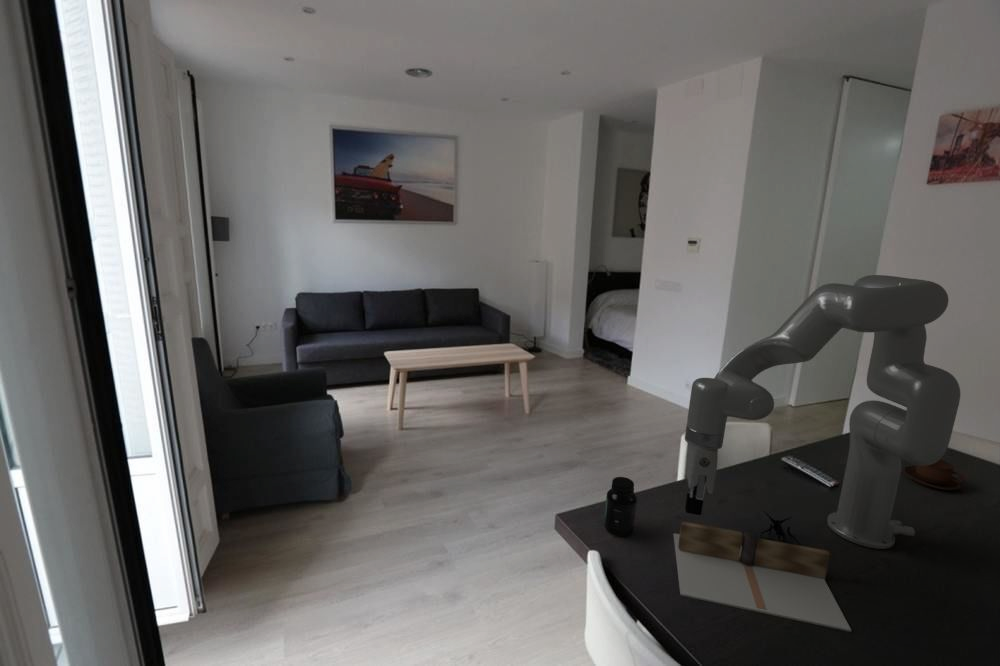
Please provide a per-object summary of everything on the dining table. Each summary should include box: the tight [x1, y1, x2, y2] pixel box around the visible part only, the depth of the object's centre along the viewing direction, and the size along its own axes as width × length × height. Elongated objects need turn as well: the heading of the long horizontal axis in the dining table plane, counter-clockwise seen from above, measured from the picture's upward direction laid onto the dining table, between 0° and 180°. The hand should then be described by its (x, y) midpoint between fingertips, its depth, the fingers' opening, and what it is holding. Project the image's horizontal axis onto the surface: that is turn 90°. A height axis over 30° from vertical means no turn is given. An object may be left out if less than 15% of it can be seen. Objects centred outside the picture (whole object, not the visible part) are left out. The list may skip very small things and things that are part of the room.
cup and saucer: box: [904, 459, 965, 491], centre depth 132 cm, size 12×12×6 cm
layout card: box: [673, 533, 852, 633], centre depth 94 cm, size 28×19×1 cm
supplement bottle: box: [604, 476, 638, 538], centre depth 108 cm, size 7×7×12 cm
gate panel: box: [678, 520, 744, 561], centre depth 99 cm, size 12×1×6 cm, turn 74°
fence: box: [740, 530, 831, 579], centre depth 96 cm, size 15×2×7 cm, turn 74°
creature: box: [760, 511, 800, 545], centre depth 106 cm, size 8×5×8 cm
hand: (692, 511), depth 105 cm, fingers closed
